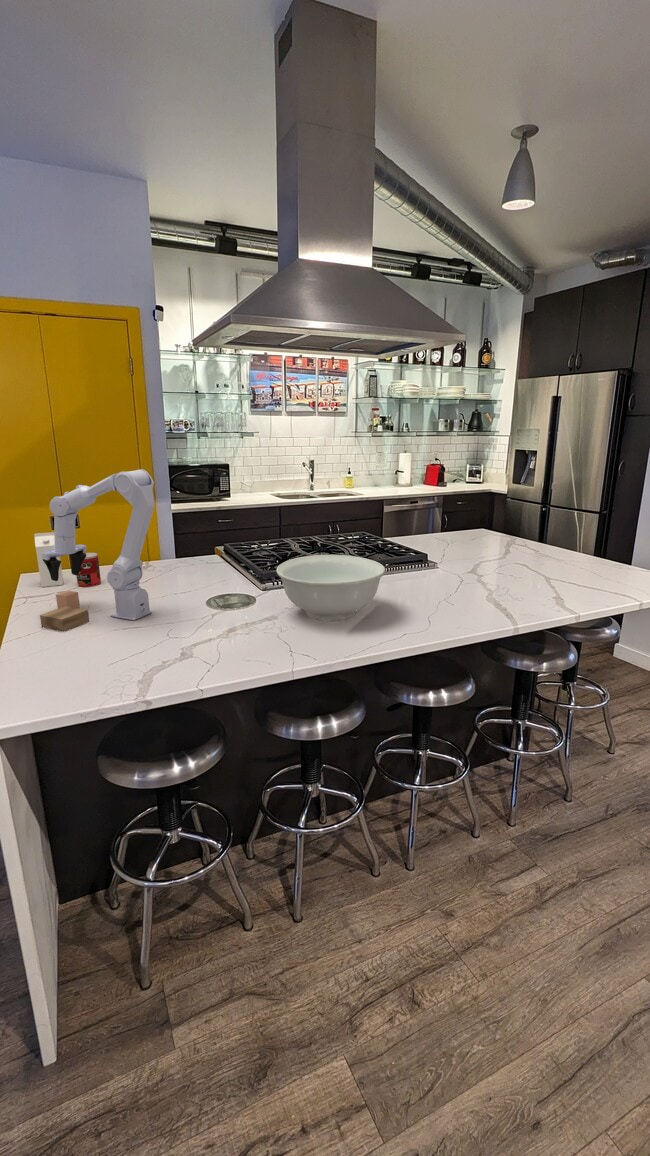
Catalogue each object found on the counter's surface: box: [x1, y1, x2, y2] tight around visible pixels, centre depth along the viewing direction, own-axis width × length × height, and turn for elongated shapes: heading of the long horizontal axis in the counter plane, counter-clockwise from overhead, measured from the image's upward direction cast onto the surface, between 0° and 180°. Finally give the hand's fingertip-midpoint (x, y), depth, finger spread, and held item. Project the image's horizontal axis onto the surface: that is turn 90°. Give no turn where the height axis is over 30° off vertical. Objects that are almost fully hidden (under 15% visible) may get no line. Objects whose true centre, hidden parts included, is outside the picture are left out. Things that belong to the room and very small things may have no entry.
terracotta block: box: [55, 590, 81, 609], centre depth 173 cm, size 4×4×6 cm
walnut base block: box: [39, 606, 90, 633], centre depth 160 cm, size 9×9×4 cm
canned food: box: [76, 552, 102, 588], centre depth 200 cm, size 8×8×11 cm
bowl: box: [276, 554, 386, 621], centre depth 167 cm, size 32×32×15 cm
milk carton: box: [33, 531, 64, 588], centre depth 200 cm, size 7×7×19 cm
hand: (65, 577), depth 171 cm, fingers open, 7 cm apart
